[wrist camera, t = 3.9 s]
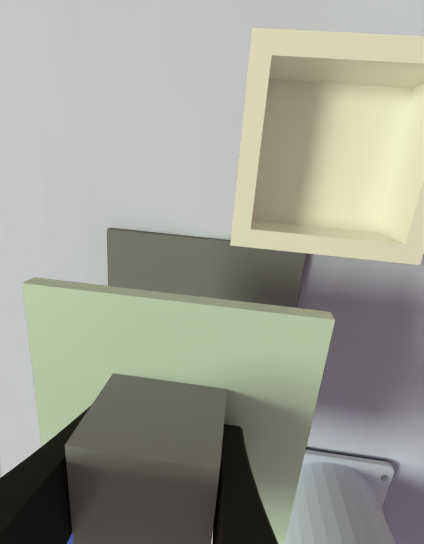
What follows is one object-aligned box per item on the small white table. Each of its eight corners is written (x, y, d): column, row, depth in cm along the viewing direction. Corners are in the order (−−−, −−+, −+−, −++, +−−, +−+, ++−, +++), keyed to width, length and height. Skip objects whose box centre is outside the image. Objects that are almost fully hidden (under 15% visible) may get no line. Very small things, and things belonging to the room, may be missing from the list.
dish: (384, 246, 16) (420, 265, 13) (233, 231, 17) (230, 245, 13) (429, 72, 14) (488, 39, 10) (250, 62, 14) (252, 27, 11)
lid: (282, 527, 13) (296, 654, 9) (56, 488, 14) (-8, 593, 10) (329, 311, 10) (375, 384, 6) (34, 277, 11) (-67, 326, 7)
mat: (275, 411, 20) (276, 416, 20) (113, 388, 21) (110, 392, 20) (305, 248, 17) (307, 249, 16) (109, 227, 17) (106, 229, 17)
